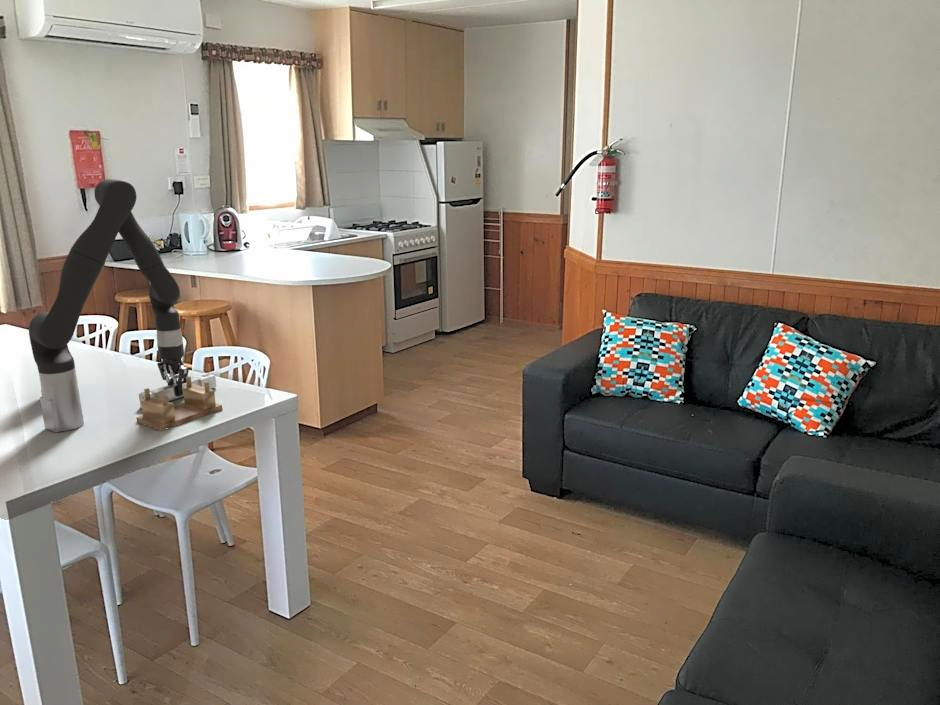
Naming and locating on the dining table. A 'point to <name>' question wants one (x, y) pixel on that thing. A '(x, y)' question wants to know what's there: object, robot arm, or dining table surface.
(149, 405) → the tool rest
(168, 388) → the long white beam
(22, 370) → the dining table surface
